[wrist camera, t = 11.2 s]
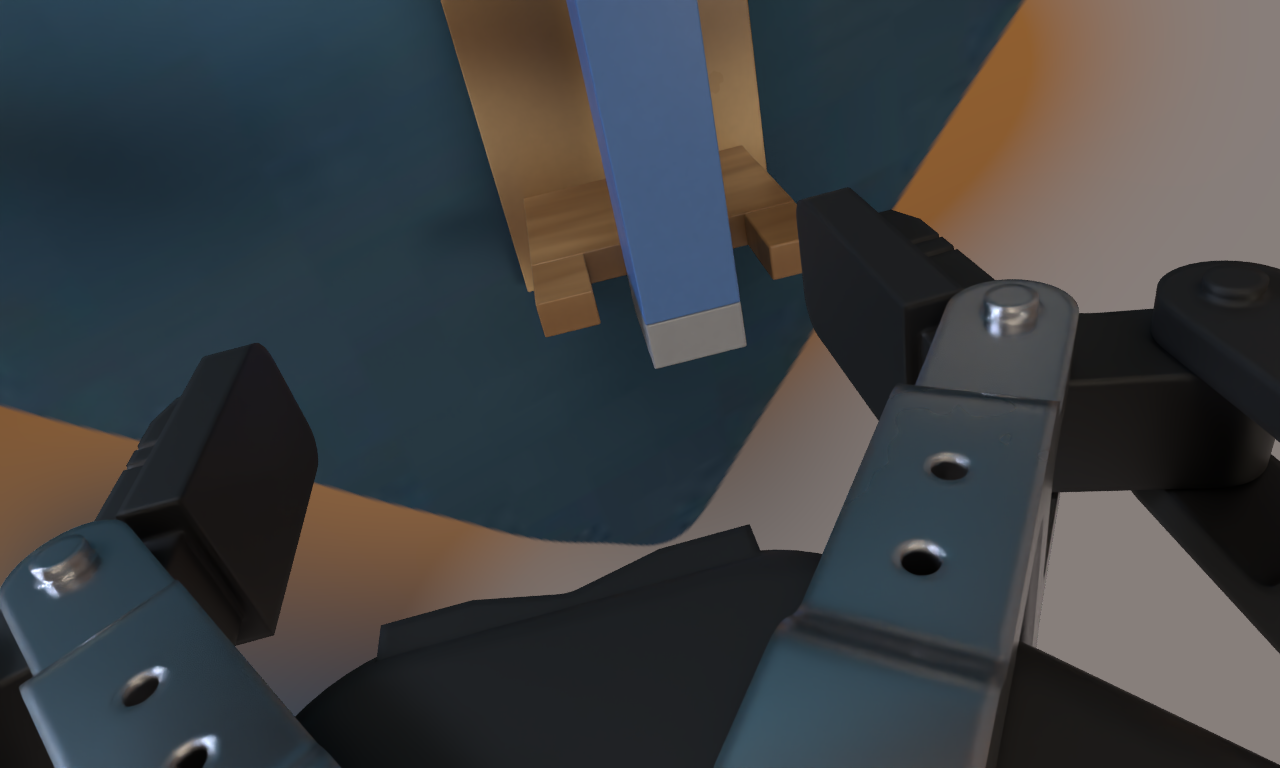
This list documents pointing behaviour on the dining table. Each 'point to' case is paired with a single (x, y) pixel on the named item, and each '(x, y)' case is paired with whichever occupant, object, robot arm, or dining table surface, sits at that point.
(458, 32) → the holder
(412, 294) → the dining table surface
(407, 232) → the dining table surface
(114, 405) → the dining table surface
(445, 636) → the robot arm
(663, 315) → the handle
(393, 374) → the dining table surface
